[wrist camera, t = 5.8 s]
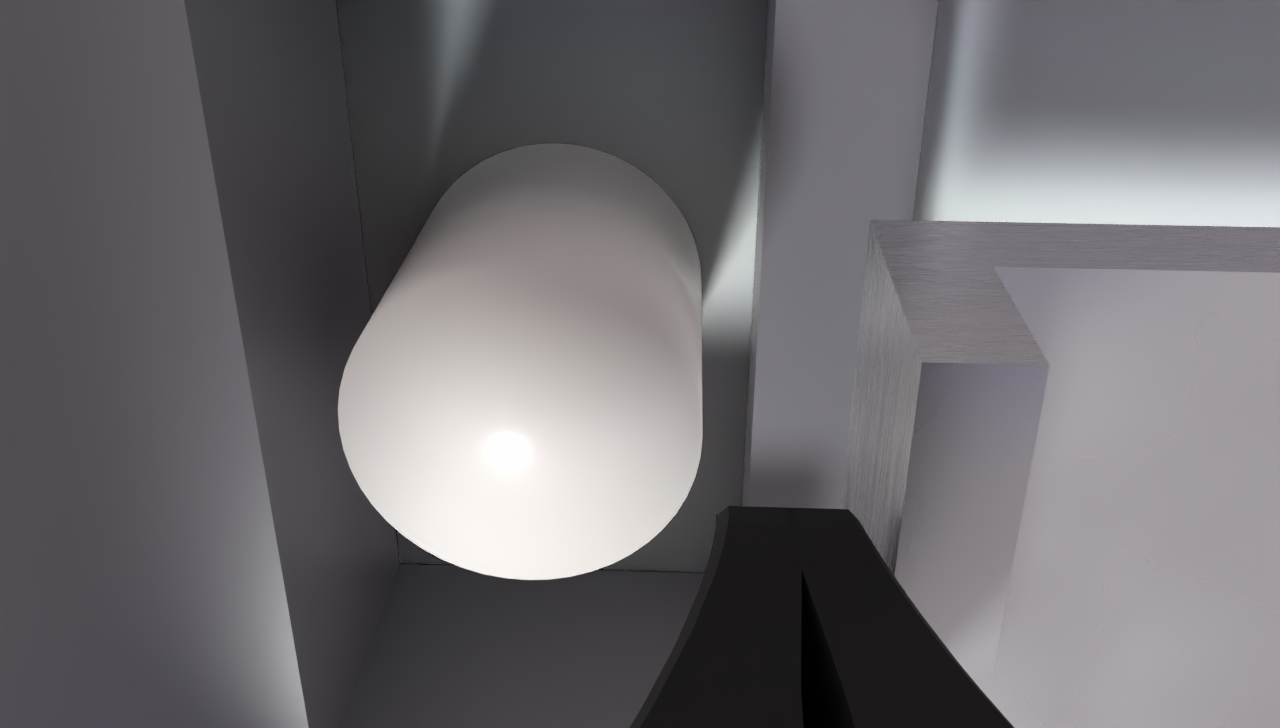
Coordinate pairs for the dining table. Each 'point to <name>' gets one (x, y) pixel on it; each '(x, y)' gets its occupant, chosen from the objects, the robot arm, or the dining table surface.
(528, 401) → the plug
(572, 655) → the socket block
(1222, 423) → the clip
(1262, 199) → the dining table surface
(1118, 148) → the dining table surface
